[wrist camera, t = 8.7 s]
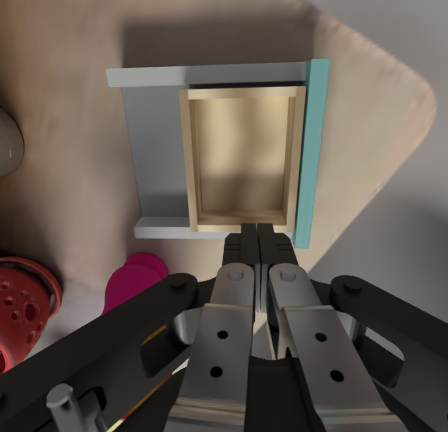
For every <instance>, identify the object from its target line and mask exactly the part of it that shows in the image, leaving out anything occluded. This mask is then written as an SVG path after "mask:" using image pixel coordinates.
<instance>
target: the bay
mask: <svg viewBox="0 0 448 432" xmlns="http://www.w3.org/2000/svg"><path fill="white" fill-rule="evenodd" d="M329 65H330V59H311V60H309V61H307V62H283V63H256V64H228V65H200V66H173V67H145V68H118V69H106V75H107V80H108V86H109V87H121V89H122V95H123V102H124V108H125V114H126V120H127V126H128V133H129V139H130V145H131V151H132V158H133V164H134V170H135V176H136V183H137V189H138V195H139V201H140V207H141V214H142V217H141V218H140V220H139V221H138V222H137V223H136V225H135V226H134V233H135V238H163V239H225V238H226V237H227V236H228V235H229V234H230V233H241V232H191V230H190V218H189V206H188V194H187V182H186V171H185V159H184V147H183V135H182V123H181V112H180V100H179V90H192V89H225V88H258V87H291V86H306V93H305V105H304V117H303V129H302V141H301V153H300V164H299V176H298V188H297V200H296V212H295V224H294V232H275V233H284V234H286V235H287V236H288V237H289V238H290V239H292V241H293V244H294V247H295V248H308V249H309V243H310V234H311V225H312V217H313V208H314V199H315V190H316V181H317V172H318V163H319V154H320V145H321V136H322V128H323V119H324V110H325V101H326V92H327V83H328V74H329Z"/></svg>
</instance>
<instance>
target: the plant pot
mask: <svg viewBox="0 0 448 432" xmlns="http://www.w3.org/2000/svg"><path fill="white" fill-rule="evenodd" d="M61 303H62V293H61V289H60V286H59V284H58V282H57V280H56V279H55V277H54V276H53V275H52V274H51V273H50V272H49V271H48V270H47V269H46V268H44V267H43V266H41V265H40V264H38V263H36V262H34V261H32V260H29V259H26V258H21V257H12V256H11V257H2V258H0V375H1V374H3V373H4V372H6V371H8V370H9V369H11V368H13V367H15V366H16V365H18V364H20V363H21V362H22V361H23V360H24V359H25V357H26V356H27V355H28V354H29V352H30V351H31V350H32V348H33V347H34V345H35V344H36V342H37V341H38V339H39V338H40V336H41V334H42V332H43V330H44V328H45V326H46V324H47V321H48V319H49V318H51V317H53V316H54V315H55V314H56V313H57V312H58V310H59V308H60V306H61Z"/></svg>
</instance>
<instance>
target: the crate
mask: <svg viewBox="0 0 448 432" xmlns="http://www.w3.org/2000/svg"><path fill="white" fill-rule="evenodd" d="M305 93H306V86H291V87H258V88H225V89H192V90H179V100H180V112H181V123H182V135H183V147H184V159H185V171H186V182H187V194H188V206H189V218H190V230H191V232H241V223H256V228H257V223H272V224H273V228H274V232H294V224H295V212H296V200H297V188H298V176H299V164H300V153H301V141H302V129H303V117H304V105H305Z"/></svg>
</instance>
